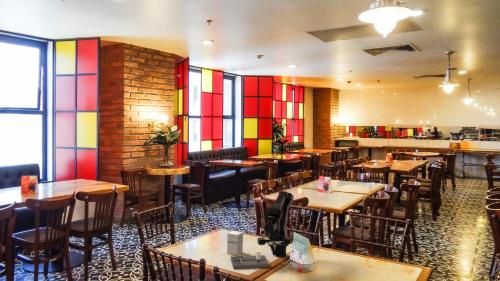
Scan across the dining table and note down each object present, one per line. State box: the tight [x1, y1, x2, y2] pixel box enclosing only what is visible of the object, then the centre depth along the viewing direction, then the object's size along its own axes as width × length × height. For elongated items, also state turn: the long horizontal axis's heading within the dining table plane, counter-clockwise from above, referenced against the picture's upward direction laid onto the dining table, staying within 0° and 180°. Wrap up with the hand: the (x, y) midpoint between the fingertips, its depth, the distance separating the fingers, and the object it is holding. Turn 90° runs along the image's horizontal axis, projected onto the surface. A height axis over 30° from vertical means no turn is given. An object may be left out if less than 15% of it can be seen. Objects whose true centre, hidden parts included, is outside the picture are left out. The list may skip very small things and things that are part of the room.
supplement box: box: [226, 230, 244, 256], centre depth 237 cm, size 7×7×13 cm
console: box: [230, 254, 270, 270], centre depth 220 cm, size 20×14×2 cm
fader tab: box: [255, 249, 262, 260], centre depth 220 cm, size 2×4×5 cm, turn 9°
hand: (273, 255), depth 222 cm, fingers closed
